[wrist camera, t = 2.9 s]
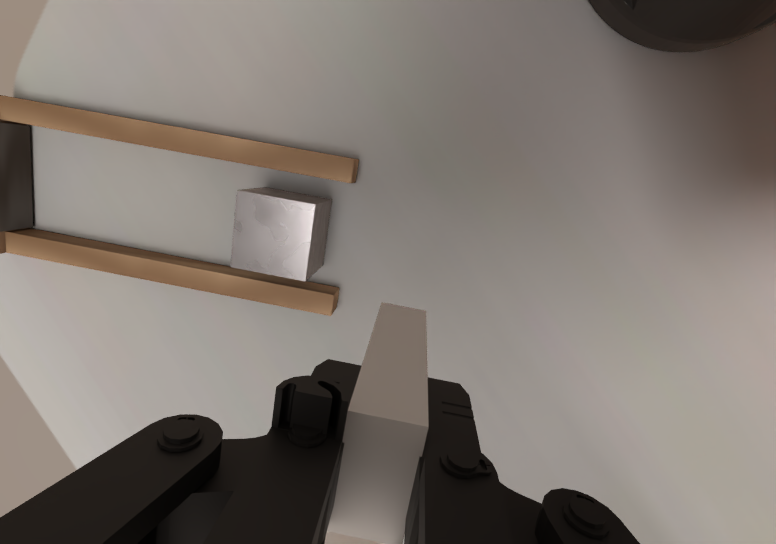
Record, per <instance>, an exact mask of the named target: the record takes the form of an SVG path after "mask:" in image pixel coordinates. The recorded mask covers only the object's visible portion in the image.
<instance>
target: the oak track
mask: <svg viewBox="0 0 776 544" xmlns="http://www.w3.org/2000/svg"><path fill="white" fill-rule="evenodd" d="M26 124H29V125H34V126H40V127H45V128H51V129H56V130H62V131H67V132H73V133H78V134H84V135H89V136H95V137H100V138H106V139H111V140H117V141H122V142H128V143H133V144H139V145H144V146H149V147H155V148H160V149H166V150H171V151H177V152H182V153H188V154H193V155H199V156H204V157H210V158H215V159H221V160H226V161H232V162H237V163H243V164H248V165H254V166H259V167H265V168H270V169H276V170H281V171H287V172H292V173H298V174H303V175H308V176H314V177H319V178H325V179H330V180H336V181H341V182H347V183H355V182H356V176H357V169H358V163H359V160H358V159H352V158H347V157H341V156H336V155H330V154H325V153H319V152H313V151H308V150H302V149H297V148H291V147H286V146H280V145H275V144H269V143H263V142H258V141H252V140H247V139H241V138H236V137H230V136H225V135H219V134H213V133H208V132H202V131H197V130H191V129H186V128H180V127H175V126H169V125H163V124H158V123H152V122H147V121H141V120H136V119H130V118H125V117H119V116H113V115H108V114H102V113H97V112H91V111H86V110H80V109H74V108H69V107H63V106H58V105H52V104H47V103H41V102H36V101H30V100H24V99H19V98H13V97H7V96H1V95H0V253H5V252H7V253H12V254H17V255H22V256H27V257H32V258H38V259H43V260H48V261H53V262H58V263H63V264H68V265H73V266H78V267H83V268H89V269H94V270H99V271H104V272H109V273H114V274H119V275H124V276H129V277H135V278H140V279H145V280H150V281H155V282H160V283H165V284H170V285H175V286H181V287H186V288H191V289H196V290H201V291H206V292H211V293H216V294H221V295H227V296H232V297H237V298H242V299H247V300H252V301H257V302H262V303H267V304H273V305H278V306H283V307H288V308H293V309H298V310H303V311H308V312H313V313H319V314H324V315H329V316H331V315H332V314H333V312H334V310H335V309H336V307H337V301H338V294H339V288H338V287H333V286H328V285H323V284H317V283H312V282H307V281H300V280H295V279H290V278H284V277H279V276H274V275H269V274H264V273H258V272H253V271H248V270H243V269H238V268H232V267H229V266H224V265H219V264H214V263H209V262H203V261H198V260H193V259H188V258H183V257H177V256H172V255H167V254H162V253H157V252H151V251H146V250H141V249H136V248H131V247H126V246H120V245H115V244H110V243H105V242H100V241H94V240H89V239H84V238H79V237H74V236H68V235H63V234H58V233H53V232H48V231H43V230H37V229H32V228H30V227H33V207H32V177H31V147H30V126H27V125H26Z"/></svg>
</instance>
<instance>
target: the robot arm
mask: <svg viewBox="0 0 776 544" xmlns="http://www.w3.org/2000/svg"><path fill="white" fill-rule="evenodd" d="M589 1H590V3H591V4H592V6H593V7H594V9H595V10H596V11H597V13H598V14H599V15H600V16H601V17H602V18H603V20H604V21H605V22H606V23H607V24H609V25H610V26H611V27H612V28H613V29H614V30H616V31H617V32H618V33H620V34H621V35H623V36H624V37H626V38H628V39H630V40H632V41H634V42H636V43H638V44H640V45H643V46H646V47H649V48H653V49H657V50H662V51H670V52H693V51H701V50H706V49H711V48H715V47H719V46H722V45H725V44H728V43H730V42H733V41H735V40H737V39H740V38H742V37H745V36H747V35H749V34H752V33H754V32H756V31H759V30H761V29H763V28H765V27H767V26H769V25H771V24H773V23H775V22H776V0H589ZM471 408H472V406H471V402H470V397H469V395H468V393H467V392H466V391H465V390H464V389H463V387H462V386H461V385H460V384H458V383H453V382H448V381H443V380H438V379H433V378H428V377H427V332H426V311H424V310H419V309H414V308H409V307H404V306H398V305H393V304H388V303H383V302H382V303H381V306H380V309H379V312H378V316H377V319H376V322H375V325H374V328H373V332H372V335H371V338H370V341H369V344H368V347H367V351H366V354H365V357H364V360H363V363H362V366H360V365H355V364H350V363H345V362H340V361H335V360H330V359H328V360H326V361H324V362H323V363H321V364H319V365H318V366H316V367H315V369H314V371H313V373H312V375H311V376H299V377H293V378H290V379H288V380H285V381H283V382H282V383H281V384H279V385H278V386H277V387H276V394H275V402H274V410H273V419H272V427H271V429H270V431H269V432H268V434H267V435H264V436H260V437H256V438H248V439H222V436H223V431H222V429H221V428H220V426H219V424H218V423H216V422H215V421H213V420H212V419H210V418H208V417H204V416H199V415H187V414H186V415H176V416H172V417H167V418H163V419H161V420H159V421H157V422H155V423H152V424H150V425H149V426H147V427H145V428H144V429H142V430H141V431H139V432H137V433H136V434H134V435H132V436H131V437H129V438H128V439H126V440H124V441H123V442H121V443H120V444H118V445H116V446H115V447H113V448H112V449H110V450H108V451H107V452H105V453H104V454H102V455H100V456H99V457H97V458H95V459H94V460H92V461H91V462H89V463H87V464H86V465H84V466H83V467H81V468H79V469H78V470H76V471H75V472H73V473H71V474H70V475H68V476H66V477H65V478H63V479H62V480H60V481H59V482H57V483H55V484H54V485H52V486H50V487H49V488H47V489H46V490H44V491H42V492H41V493H39V494H38V495H36V496H34V497H33V498H31V499H29V500H28V501H26V502H25V503H23V504H22V505H20V506H18V507H17V508H15V509H13V510H12V511H10V512H9V513H7V514H5V515H4V516H2V517H0V544H325V538H326V533H327V531H329V532H333V533H338V534H343V535H347V536H352V537H357V538H361V539H366V540H371V541H375V542H380V543H385V544H402V543H403V538H404V534H405V541H404V544H640V543H639V542H638V541H637V540H636V538H635V537H634V536H633V535H632V534H631V532H630V531H629V530H628V529H627V527H626V526H625V525H624V524H623V523H622V521H621V520H620V519H619V518H618V517H617V516H616V515H615V514H614V513H613V512H612V511H611V510H610V509H609V508H608V507H606V506H605V505H603V504H602V503H600V502H599V501H597V500H596V499H594V498H593V497H590V496H588V495H586V494H584V493H581V492H579V491H575V490H569V489H564V488H561V489H555V490H551V491H550V492H548V493H547V494H546V495H545V496H544V499H543V502H542V504H541V503H539V502H536V501H534V500H532V499H530V498H527V497H525V496H523V495H520V494H518V493H516V492H514V491H513V490H511V489H509V488H507V487H506V486H504V485H503V484H502V483H500V482H499V479H498V475H497V472H496V470H495V468H494V466H493V464H492V462H491V461H490V460H489V459H488V458H487V457H486V456H485V455H484V454H482V453H481V450H480V445H479V440H478V436H477V431H476V426H475V421H474V420H473V419H474V416H473V411H472V410H471Z"/></svg>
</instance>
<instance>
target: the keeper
mask: <svg viewBox="0 0 776 544" xmlns="http://www.w3.org/2000/svg"><path fill="white" fill-rule="evenodd" d="M331 205H332V199H328V198H322V197H317V196H311V195H306V194H300V193H295V192H289V191H284V190H278V189H273V188H267V187H263V188H253V189H242V190H237V195H236V207H235V219H234V231H233V243H232V255H231V267H232V268H238V269H243V270H248V271H253V272H258V273H264V274H269V275H274V276H279V277H284V278H290V279H295V280H300V281H306V280H308V279H309V278H310V277H311V276H312V275H313V274H314V273H315V272H316V271H317V270H318V269H320V268H321V267H322V266H323V263H324V256H325V248H326V241H327V234H328V227H329V220H330V212H331Z"/></svg>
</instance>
